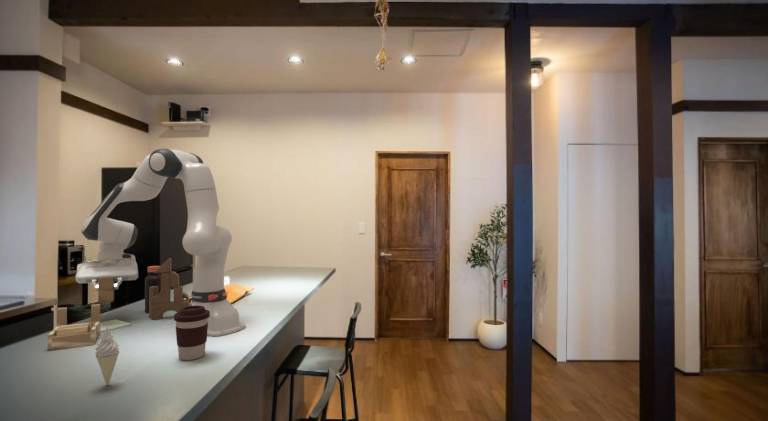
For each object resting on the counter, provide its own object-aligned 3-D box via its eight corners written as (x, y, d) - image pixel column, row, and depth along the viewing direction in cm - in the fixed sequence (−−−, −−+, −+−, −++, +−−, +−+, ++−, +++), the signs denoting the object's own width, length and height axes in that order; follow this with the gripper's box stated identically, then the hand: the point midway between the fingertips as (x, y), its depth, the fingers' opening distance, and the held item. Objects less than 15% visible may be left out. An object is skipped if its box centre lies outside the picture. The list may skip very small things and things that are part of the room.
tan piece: (57, 339, 133) (57, 308, 133) (100, 334, 139) (100, 304, 139) (47, 350, 123) (47, 316, 123) (94, 344, 128) (94, 311, 128)
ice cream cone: (103, 381, 101) (103, 324, 101) (123, 380, 101) (123, 323, 101) (90, 390, 96) (90, 330, 96) (111, 389, 96) (112, 329, 96)
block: (100, 300, 149) (100, 277, 149) (114, 299, 152) (114, 276, 152) (98, 303, 145) (98, 279, 145) (112, 301, 148) (112, 278, 148)
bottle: (141, 312, 169) (141, 267, 169) (152, 309, 175) (153, 265, 175) (154, 313, 168) (154, 267, 168) (166, 309, 174) (166, 265, 174)
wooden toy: (190, 312, 169) (190, 256, 169) (188, 316, 163) (188, 257, 163) (150, 316, 164) (150, 257, 164) (146, 320, 157) (146, 259, 158)
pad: (131, 325, 150) (131, 323, 150) (95, 333, 140) (95, 332, 140) (116, 320, 157) (116, 319, 157) (81, 328, 146) (81, 326, 146)
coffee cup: (173, 365, 112) (173, 313, 112) (174, 353, 120) (174, 306, 120) (210, 359, 116) (210, 309, 116) (208, 348, 125) (208, 302, 125)
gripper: (76, 257, 150) (70, 286, 141) (138, 255, 159) (136, 282, 151) (79, 267, 153) (73, 296, 145) (139, 264, 163) (137, 291, 155)
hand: (106, 289), depth 148 cm, fingers closed on block, 4 cm apart
